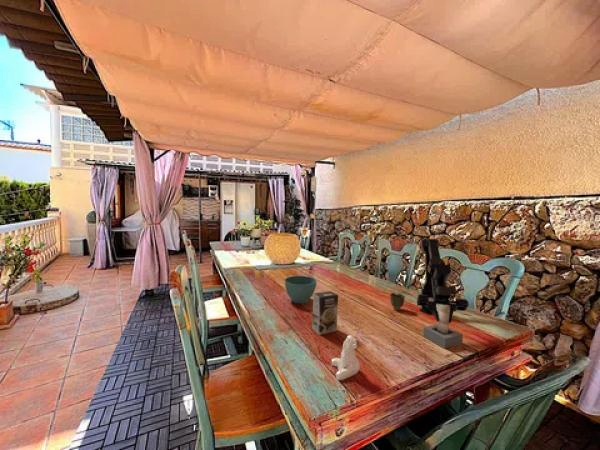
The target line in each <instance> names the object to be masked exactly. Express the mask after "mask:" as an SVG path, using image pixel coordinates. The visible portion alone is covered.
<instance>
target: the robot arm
mask: <svg viewBox="0 0 600 450" xmlns="http://www.w3.org/2000/svg"><path fill="white" fill-rule="evenodd" d="M420 247H421V251H422V254H424V270H425V271H424V272H425V275H424V276H425V277H424V279H425V282H424V283H423V285H422V288H421V289H420V293H419V294H418V295H417V298H416V305H417V306H419V307H421V308H419V311H421V312H423V313H425V314H428V315H433V317H434V318H435V320H436V322H437V323H438V321H439V317H438V308H437V305H446V306H449V307H450V312H449V324H452V323H451V322H452V320H453V315H454V312H455V313H456V312H457V311H460V312H465V311H467V309H468V307H469V306H470V304H469V301H468V300H467V299H466V298H459V297H458V298H456V299H455V300H451V296H452V295H456V294H457V288H456V286H455V285H450V286H448V285H447V281H448V280H449V278H450V276H451V272H452V269H451V267H450V266H449V265H447V264H446V263H445V260H443V259H442V258H441V253H440V250H439V248H440V240H438V239H436V238H422V240H420Z"/></svg>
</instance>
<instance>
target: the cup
mask: <svg viewBox="0 0 600 450" xmlns="http://www.w3.org/2000/svg"><path fill="white" fill-rule="evenodd" d="M389 296H390V297H389V298H390V305H392V308H393V310H394V311H400V310H401V308H403V306H404V304H405V299H406V295H404V294H402V293H397V294H396V293H394V292H392V293H390V295H389Z"/></svg>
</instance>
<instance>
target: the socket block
mask: <svg viewBox="0 0 600 450" xmlns="http://www.w3.org/2000/svg"><path fill="white" fill-rule="evenodd" d="M422 332H423V335H422V337H423V338H425V339H426V340H428V341H430V342H432V343H434V344H436V345H438V346H440V347H441V348H443V349H449V348H451V347H456V346H459V345H463V338H464V334H463V333H461V332H459V331H457V330H456V329H455V330H454V329H452V328H450V327H449V329H448V334H447V335H443V334H441V333H439V332H437V324H434V325H428V326H424V327H423V330H422Z"/></svg>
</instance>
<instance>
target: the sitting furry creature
mask: <svg viewBox="0 0 600 450" xmlns="http://www.w3.org/2000/svg"><path fill="white" fill-rule="evenodd" d="M357 347H358V342H357V339H356V338H355V337H354V335H353V334H348V335H347V337H346V339H345V340H344V341H343V344H342V350H341V353H340V358H339V357H335V358H331V366H333V367H336V368H337V370H338V371H337V372H336V373H335V378H336V380H337V381H344V380H346V379H348V378H350V377H353V376H355V375H356V374H358V372H359V370H361V364H360V362H359V360H358V358H357V356H356V352H355V349H357Z"/></svg>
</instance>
